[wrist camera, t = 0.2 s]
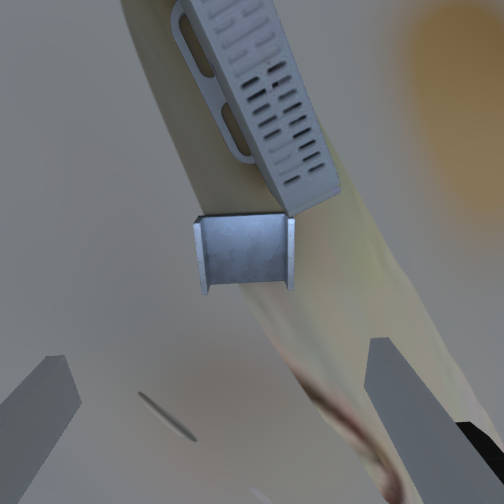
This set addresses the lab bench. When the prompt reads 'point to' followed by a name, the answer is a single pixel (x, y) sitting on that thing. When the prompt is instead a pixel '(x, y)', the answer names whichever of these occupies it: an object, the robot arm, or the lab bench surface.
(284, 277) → the bracket
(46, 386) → the robot arm
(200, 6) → the network device
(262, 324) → the lab bench surface
